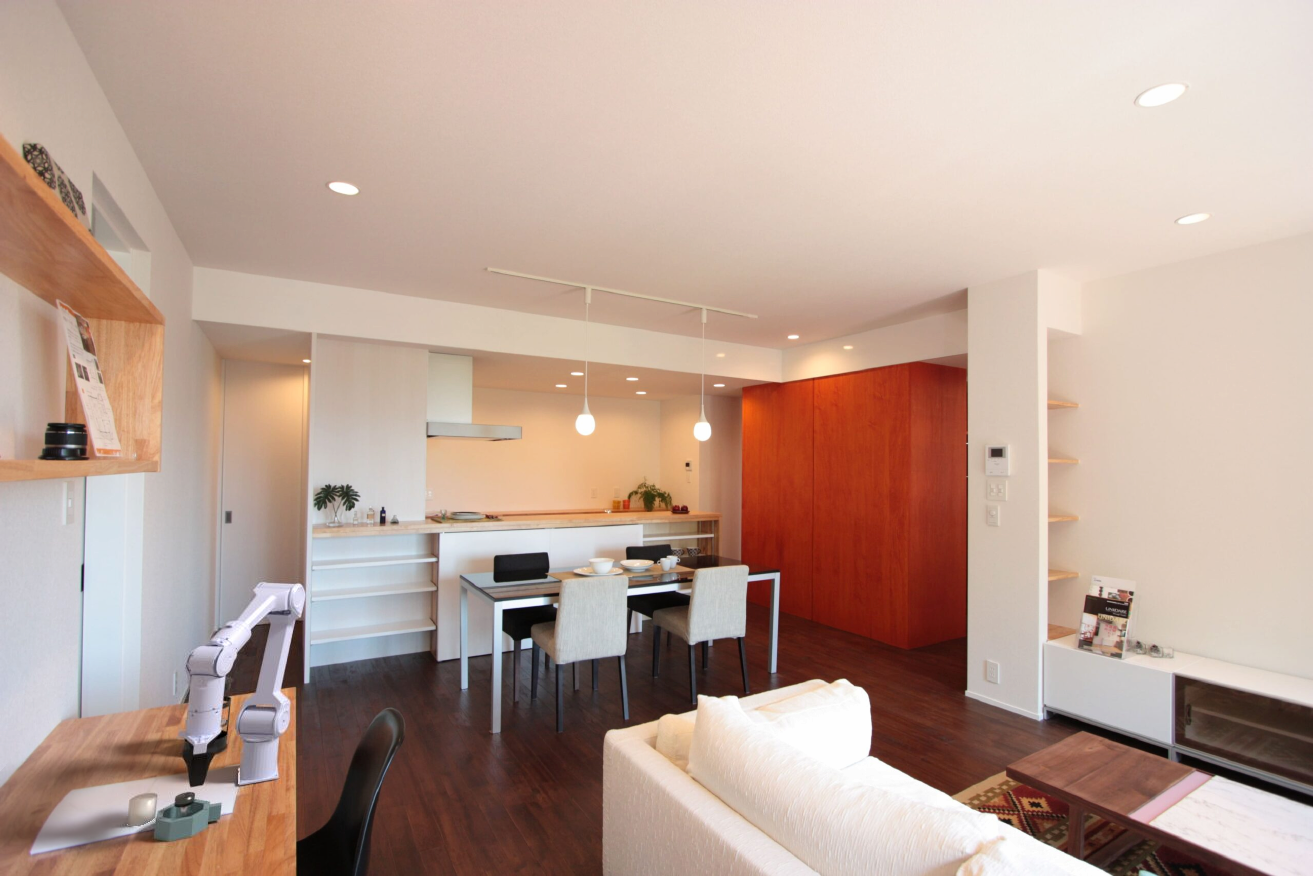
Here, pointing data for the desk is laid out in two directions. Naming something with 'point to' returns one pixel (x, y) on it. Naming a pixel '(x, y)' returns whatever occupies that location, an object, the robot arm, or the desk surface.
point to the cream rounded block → (142, 809)
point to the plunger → (184, 802)
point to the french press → (222, 738)
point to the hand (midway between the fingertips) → (198, 777)
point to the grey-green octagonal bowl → (185, 820)
